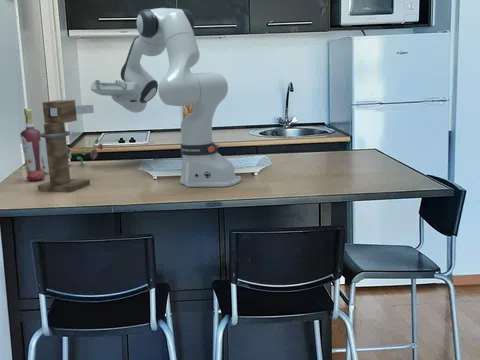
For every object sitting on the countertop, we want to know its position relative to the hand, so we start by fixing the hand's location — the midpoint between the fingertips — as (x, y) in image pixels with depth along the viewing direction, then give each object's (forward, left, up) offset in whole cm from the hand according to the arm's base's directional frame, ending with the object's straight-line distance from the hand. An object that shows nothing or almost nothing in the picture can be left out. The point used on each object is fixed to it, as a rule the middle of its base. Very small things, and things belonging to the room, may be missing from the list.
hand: (106, 81), depth 241 cm
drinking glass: (+26, +6, -37) cm, 45 cm away
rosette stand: (+2, +31, -36) cm, 48 cm away
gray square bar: (+2, +21, -11) cm, 23 cm away
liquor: (+23, +20, -37) cm, 48 cm away
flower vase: (+28, -7, -37) cm, 47 cm away
